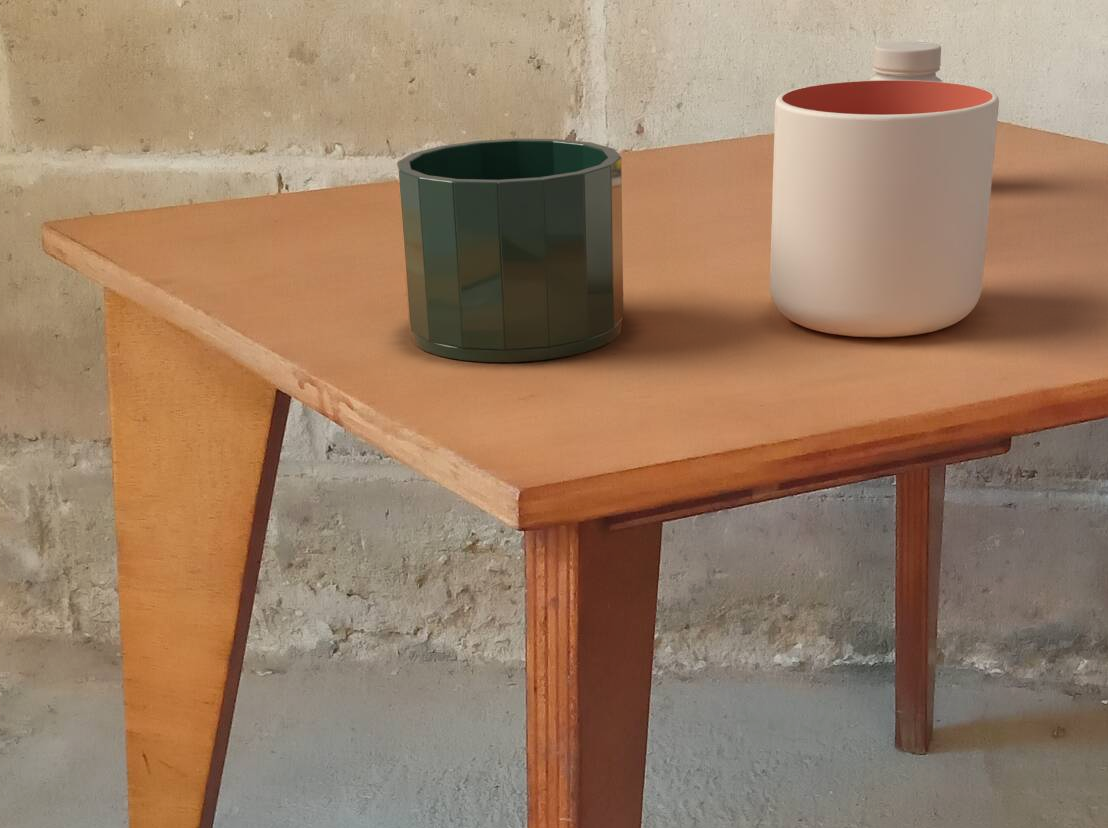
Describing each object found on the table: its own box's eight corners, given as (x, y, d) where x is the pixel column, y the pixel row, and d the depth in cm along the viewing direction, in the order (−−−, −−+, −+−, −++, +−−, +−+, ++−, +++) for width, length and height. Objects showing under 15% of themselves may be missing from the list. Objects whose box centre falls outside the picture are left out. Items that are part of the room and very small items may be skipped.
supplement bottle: (851, 195, 106) (858, 50, 101) (868, 179, 109) (876, 39, 105) (928, 199, 104) (939, 51, 100) (943, 183, 108) (954, 40, 103)
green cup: (642, 306, 85) (641, 139, 81) (592, 367, 76) (588, 184, 72) (449, 299, 87) (438, 137, 84) (380, 357, 79) (365, 179, 75)
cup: (765, 344, 79) (772, 117, 74) (771, 288, 87) (777, 81, 82) (987, 346, 77) (1009, 114, 72) (971, 288, 86) (989, 77, 81)
